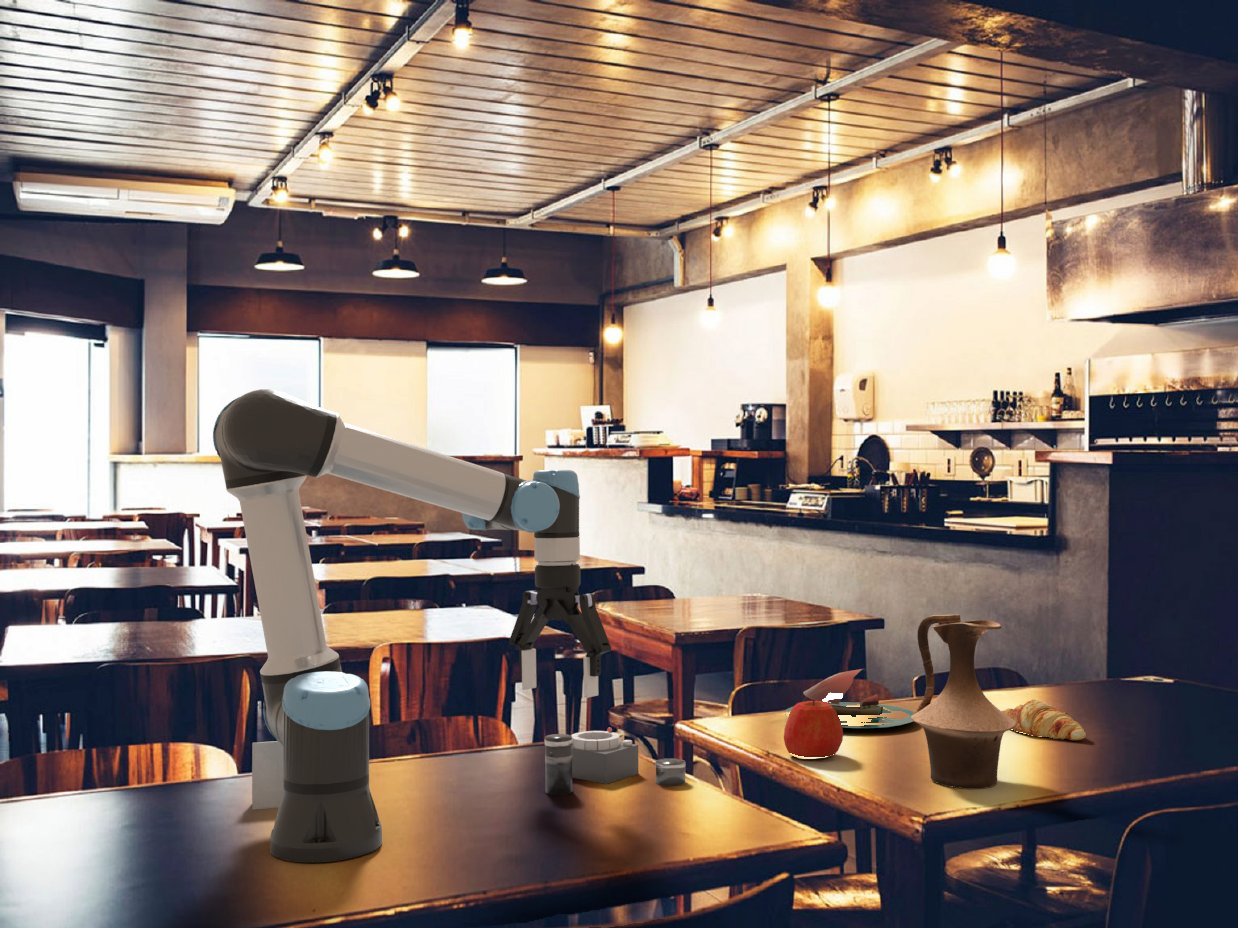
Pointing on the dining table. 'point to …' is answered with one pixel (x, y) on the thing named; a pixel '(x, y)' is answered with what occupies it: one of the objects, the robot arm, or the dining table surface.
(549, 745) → the lens
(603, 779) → the camera body
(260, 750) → the light grey rectangular block
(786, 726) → the apple
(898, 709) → the plate
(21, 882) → the dining table surface
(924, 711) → the pitcher
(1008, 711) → the croissant
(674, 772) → the cylinder
